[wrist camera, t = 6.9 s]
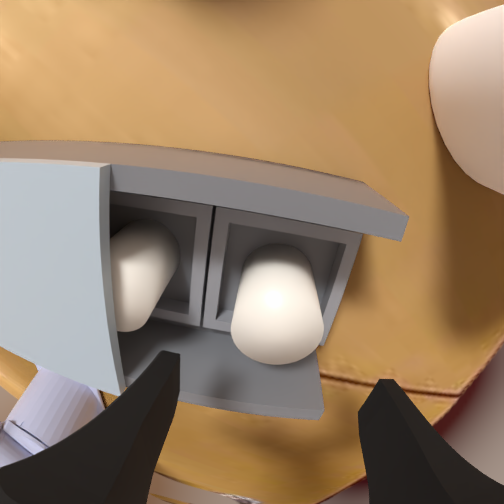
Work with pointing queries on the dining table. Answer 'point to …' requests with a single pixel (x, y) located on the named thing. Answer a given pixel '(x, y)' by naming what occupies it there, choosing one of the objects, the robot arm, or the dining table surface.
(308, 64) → the dining table surface
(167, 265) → the white rounded tapered block
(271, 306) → the white rounded cylinder
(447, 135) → the white cylinder
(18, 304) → the lid
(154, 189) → the housing
